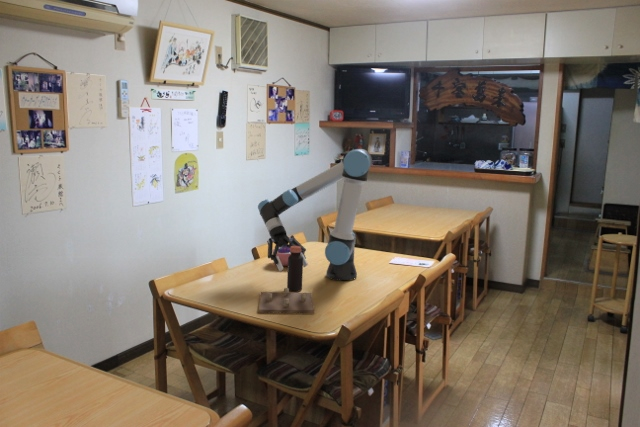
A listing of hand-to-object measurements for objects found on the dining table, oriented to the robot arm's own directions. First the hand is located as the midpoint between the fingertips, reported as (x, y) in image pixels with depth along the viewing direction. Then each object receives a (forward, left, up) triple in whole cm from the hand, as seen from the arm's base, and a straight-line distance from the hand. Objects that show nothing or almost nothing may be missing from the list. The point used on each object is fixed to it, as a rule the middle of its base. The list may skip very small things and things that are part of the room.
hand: (294, 267), depth 243 cm
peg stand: (+3, +20, -10) cm, 23 cm away
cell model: (+1, -44, -10) cm, 45 cm away
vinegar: (-1, 0, -10) cm, 10 cm away
